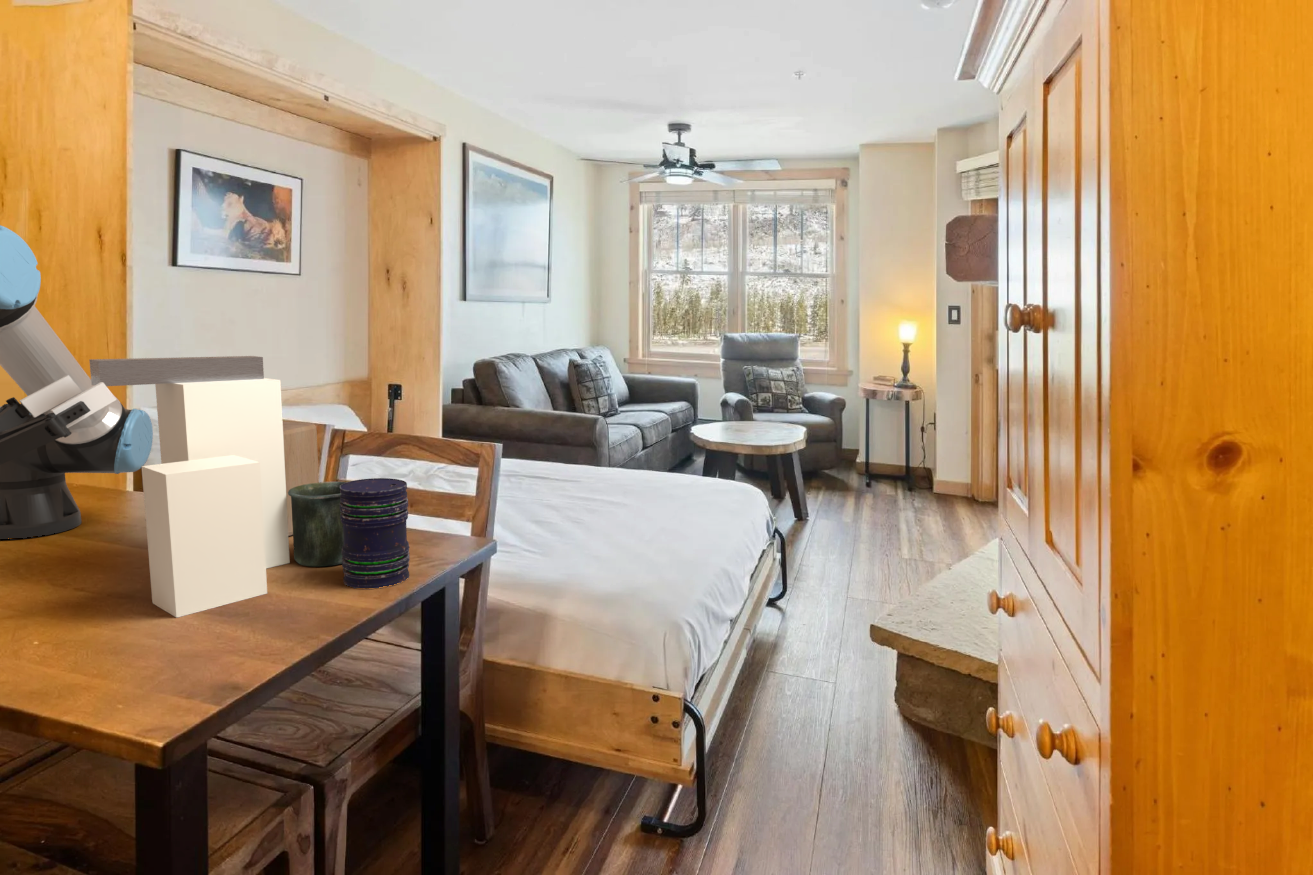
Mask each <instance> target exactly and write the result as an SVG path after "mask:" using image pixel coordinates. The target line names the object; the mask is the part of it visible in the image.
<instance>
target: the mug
mask: <svg viewBox="0 0 1313 875" xmlns="http://www.w3.org/2000/svg"><path fill="white" fill-rule="evenodd" d="M346 482H347V481H321V482H320V481H319V483H311V484H305V485H300V486H297V487H294V488H292V489H290V490H289V491H288V495H289V496H291V505H292V525H293V535H292V538H293V539H292V541H293V542H292V544H293V558H294V561H295V562H296V563H297V564H298V565H301V566H305V567H316V568H317V567H330V566H331V567H332V566H338V565H342V553H341V551H342V546H343V545H344V538H343V524H342V523H341V519H340V516H341V511H340V502H341V501H340V495H341V493H340V485H342V484H343V483H346Z"/></svg>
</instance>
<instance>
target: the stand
mask: <svg viewBox="0 0 1313 875" xmlns="http://www.w3.org/2000/svg"><path fill="white" fill-rule="evenodd" d="M281 381H282V380H281V379H274V378H267V377H264V379H254V380H233V381H211V382H189V383H167V384H154V386H155V395H156V396H155V397H156V398H155V399H156V410H157V411H156V412H157V422H158V423H157V424H158V437H159V438H158V439H159V449H160V450H159V451H160V462H161V463H160V464H164V463H173V462H181V461H189V460H198V459H206V458H214V457H222V456H231V455H235V456H239V457H242V458H246V459H250V460H253V461H257V462H260V472H261V490H262V507H263V525H264V543H265V561H266V569H270V568H273V567H278V566H282V565H283V566H284V565H287V564H290V563H291V562H290V561H291V560H290V559H291V558H290V542H289V540H290V539H289V536H288V519H287V499H286V480H285V460H284V440H283V407H282V406H283V405H282V387H281V386H282V384H281Z"/></svg>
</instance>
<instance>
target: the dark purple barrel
mask: <svg viewBox="0 0 1313 875" xmlns="http://www.w3.org/2000/svg"><path fill="white" fill-rule="evenodd" d="M345 482H346V483H343V484H342V485H340V493H341V495H340V501H341V502H340V511H341V516H340V519H341V523H342V524H343V538H344V545H343V546H342V551H341V553H342V564H341V566H342V573H343V575H344V576H343V584H344V585H345V586H346V585H347V587H348V586H350V587H349V588H351V587H353V588H352V589H356V588H379V587H383V586H389V585H394V584H397V583H401V582H402V581H405V580H406V579H407V578H408V579H409V578H410V571H409V567H410V561H411V560H410V559H411V558H410V543H409V541H408V539H407V538H408V537H407V536H408V533H407V530H408V529H407V520H408V517H409V510H408V507H409V499H408V491H407V489H408V483H407V482H406V481H405V480H402V479H397V478H389V477H388V478H386V477H381V478H379V477H376V478H373V477H372V478H362V479H355V480H350V481H345ZM408 579H407V580H408ZM407 580H406V581H407ZM406 581H405V582H406ZM401 584H402V583H401Z"/></svg>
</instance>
